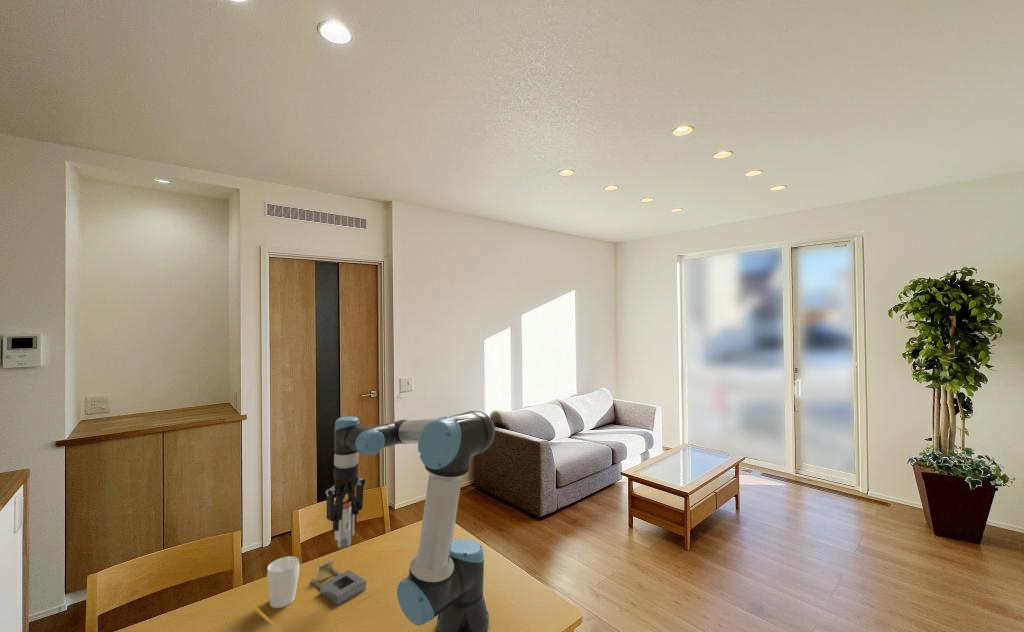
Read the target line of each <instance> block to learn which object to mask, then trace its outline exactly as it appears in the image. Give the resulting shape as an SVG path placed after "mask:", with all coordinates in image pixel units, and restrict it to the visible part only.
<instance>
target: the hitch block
mask: <svg viewBox="0 0 1024 632" xmlns="http://www.w3.org/2000/svg"><path fill="white" fill-rule="evenodd" d="M333 575H335V576H334V577H333V578H331V579H328V580H327V581H325V582H322V583H320V582H318V581H316V578H311V579H310V583H311V584H312V585H314V586H315V587H316V588H318V589H320V594H321V595H323V596H324V598H326V599H328V600H329V601H331V602H332V603H333V604H334V605H336V606H340V605H341V604H344V603H345V602H346V601H348V600H350V599H351V598H353V597H355V596H357V595H358V594H360V593H362V592H364V591H365V590H367V580H366V579H364V578H363V577H361V576H359V575H357V574H356V573H355V572H353V571H351V570H350V569H347V570H345V571H344V572H342V573H341V572H340V571H338V570H337V569H335V568H333ZM345 585H346V586H345ZM343 586H345V587H343ZM340 588H341V589H340Z"/></svg>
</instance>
